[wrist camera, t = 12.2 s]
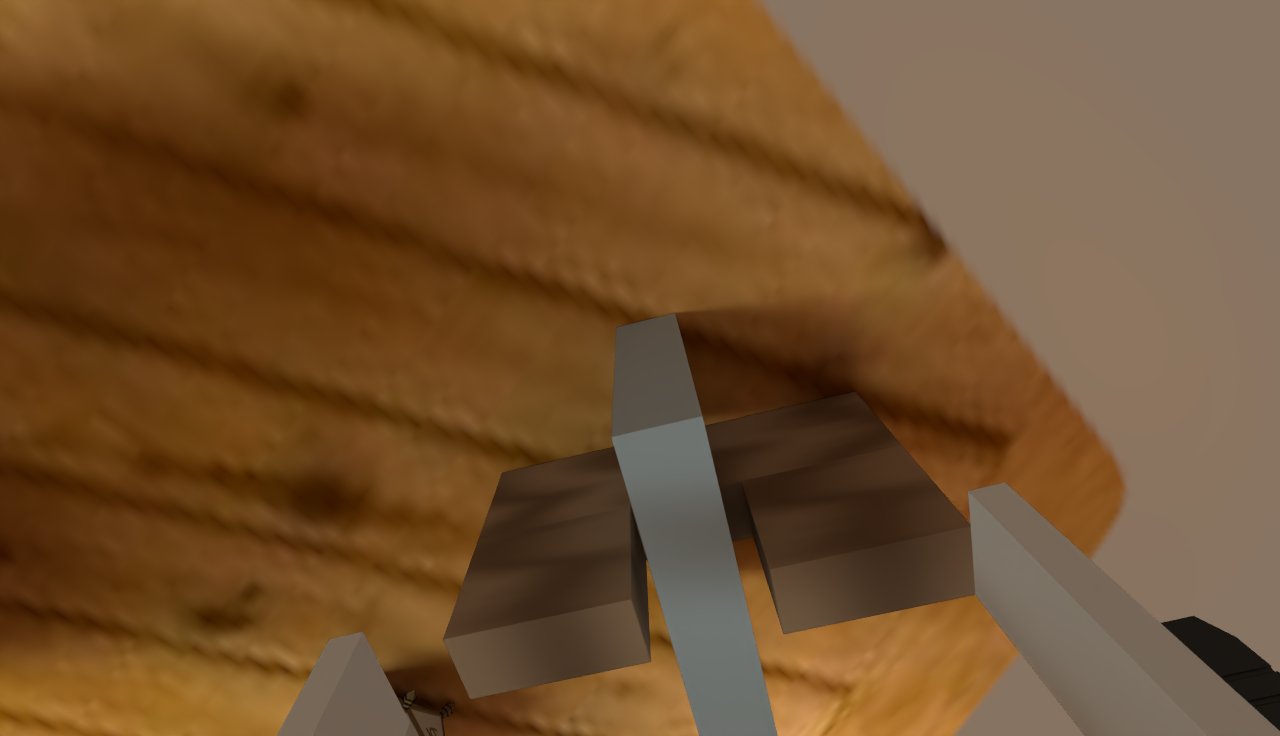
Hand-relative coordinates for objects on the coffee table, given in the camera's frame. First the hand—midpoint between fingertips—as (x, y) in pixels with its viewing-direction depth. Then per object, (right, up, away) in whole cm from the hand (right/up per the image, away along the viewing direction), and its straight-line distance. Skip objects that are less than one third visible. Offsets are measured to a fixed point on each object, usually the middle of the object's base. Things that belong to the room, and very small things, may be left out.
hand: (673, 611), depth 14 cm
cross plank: (+1, +1, +15) cm, 15 cm away
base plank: (+1, +1, +15) cm, 15 cm away
